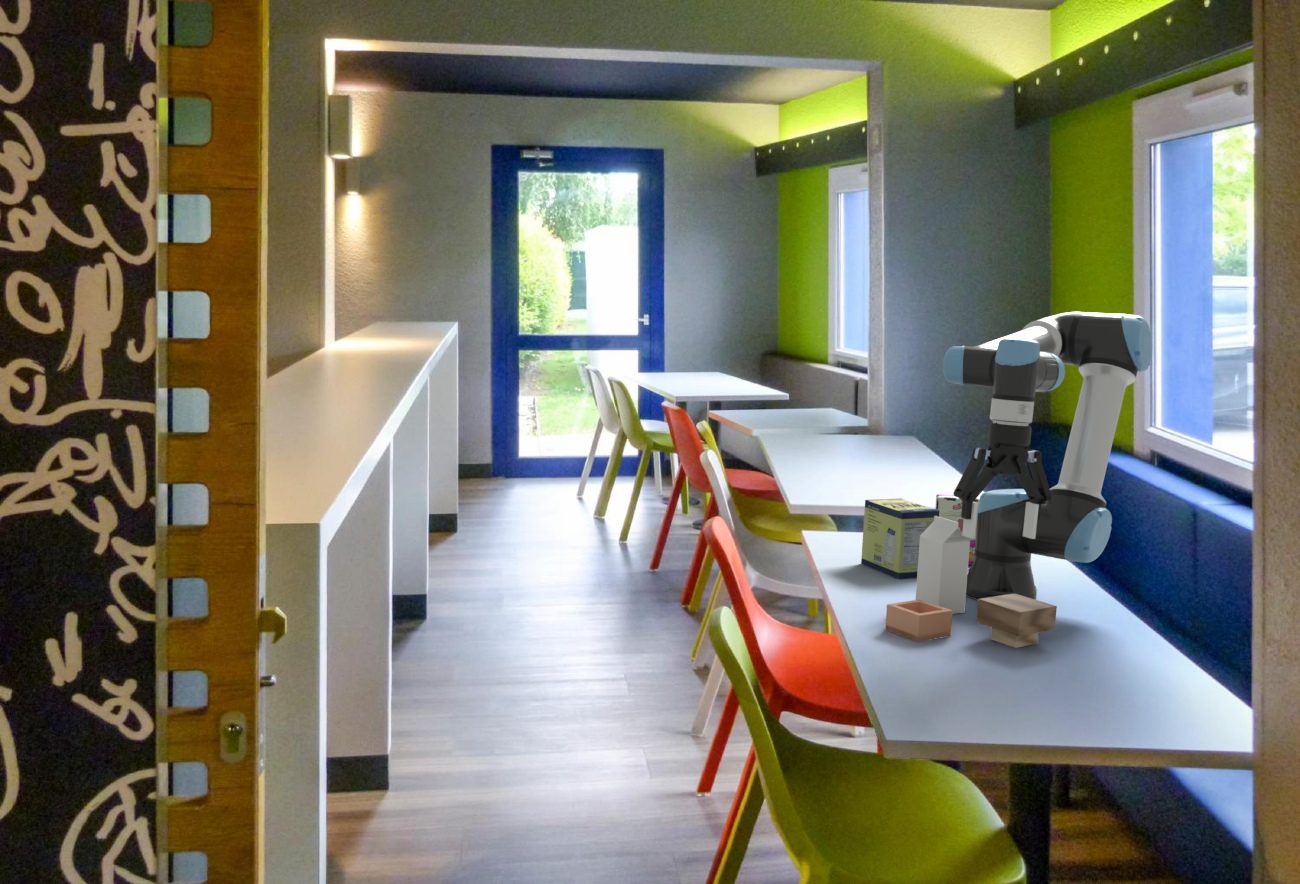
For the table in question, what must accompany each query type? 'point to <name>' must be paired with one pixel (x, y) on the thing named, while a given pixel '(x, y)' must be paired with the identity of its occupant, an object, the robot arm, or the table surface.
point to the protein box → (894, 535)
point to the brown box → (1016, 614)
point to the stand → (1013, 638)
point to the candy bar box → (955, 516)
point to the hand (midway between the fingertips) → (998, 537)
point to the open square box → (918, 620)
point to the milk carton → (943, 565)
